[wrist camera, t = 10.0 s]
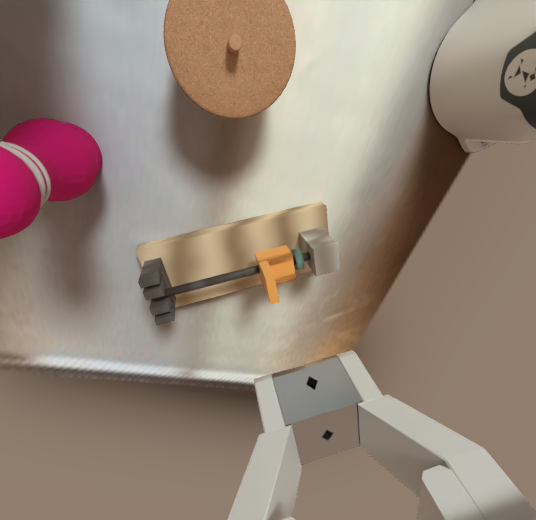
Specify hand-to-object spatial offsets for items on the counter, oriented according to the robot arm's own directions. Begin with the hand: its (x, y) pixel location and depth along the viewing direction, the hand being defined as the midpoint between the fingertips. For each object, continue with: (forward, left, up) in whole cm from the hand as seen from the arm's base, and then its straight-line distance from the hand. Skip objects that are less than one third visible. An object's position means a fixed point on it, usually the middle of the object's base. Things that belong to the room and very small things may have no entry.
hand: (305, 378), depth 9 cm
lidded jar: (-3, -11, -32) cm, 34 cm away
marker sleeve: (-4, +11, -27) cm, 29 cm away
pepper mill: (+15, -5, -32) cm, 35 cm away
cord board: (0, +11, -32) cm, 33 cm away
